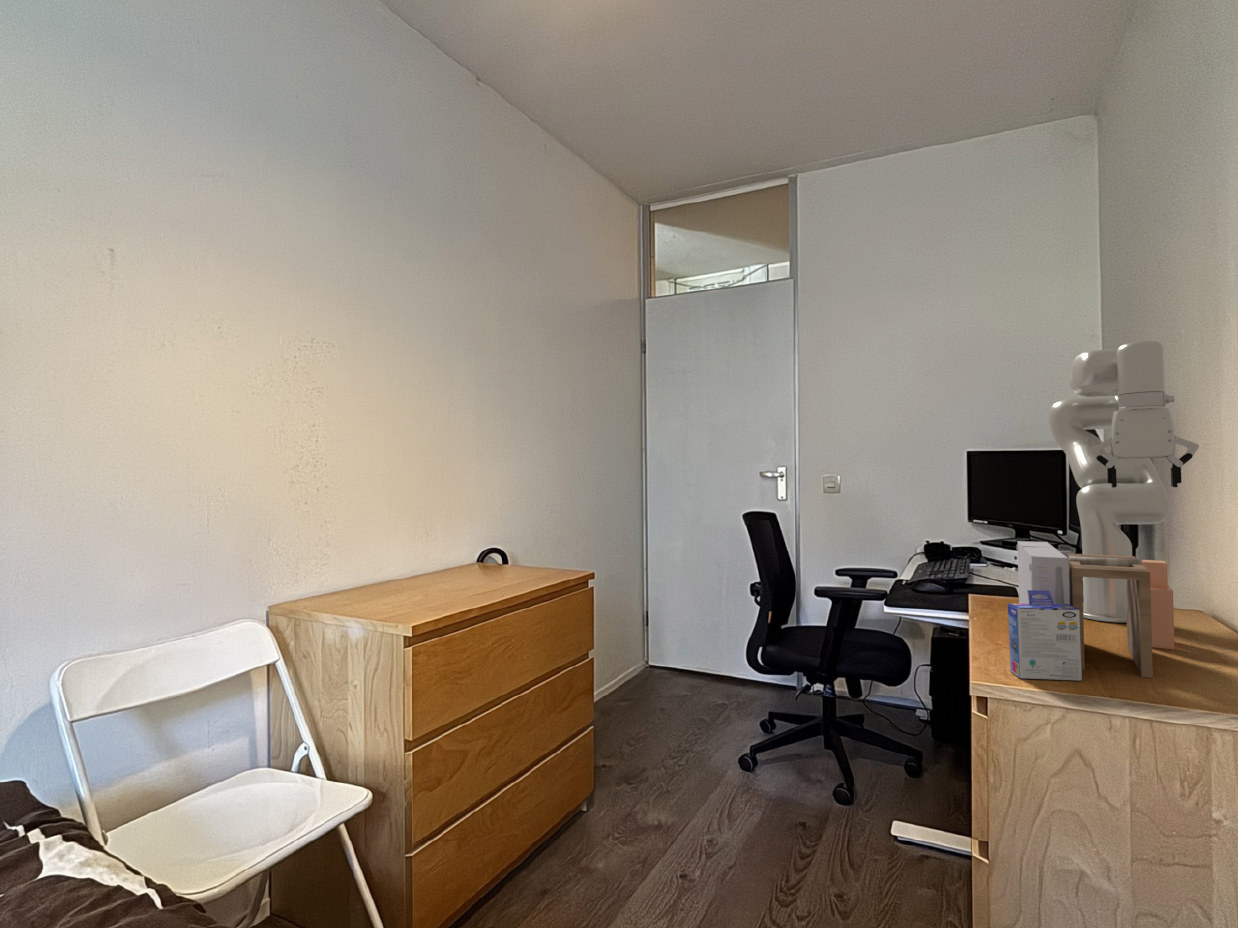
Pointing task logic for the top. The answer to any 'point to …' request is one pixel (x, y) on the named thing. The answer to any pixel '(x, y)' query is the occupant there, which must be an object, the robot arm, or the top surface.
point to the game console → (1042, 572)
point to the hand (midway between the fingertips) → (1143, 487)
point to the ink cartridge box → (1044, 639)
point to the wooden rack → (1135, 600)
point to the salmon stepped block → (1161, 605)
